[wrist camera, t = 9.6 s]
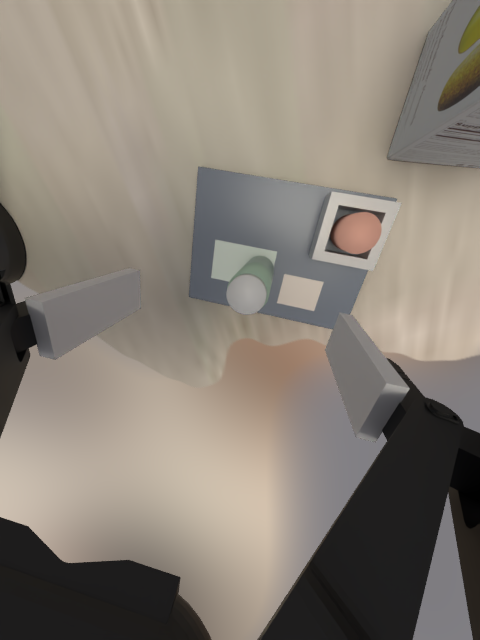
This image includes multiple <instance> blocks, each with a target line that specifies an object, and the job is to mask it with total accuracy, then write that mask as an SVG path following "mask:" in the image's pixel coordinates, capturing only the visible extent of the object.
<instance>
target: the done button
mask: <svg viewBox="0 0 480 640" xmlns="http://www.w3.org/2000/svg"><path fill="white" fill-rule="evenodd" d="M381 231H382V228H381V223H380V221H379V219H378V218H377V217H376V216H375V215H374V214H372V213H369V212H360V213H354V214H348V215H345V216H342V217H341V218H339V219H338V220H337V221H336V222H335V224H334V225H333V227H332V229H331V240H332V243H333V244H334V245H335V246H336V247H337V248H339V249H341V250H344V251H346V252H348V253H351V254H361V253H364V252H367V251H368V250H370V249H371V248H373V247H374V246H375V245H376V243H377V242H378V240H379V238H380V236H381Z"/></svg>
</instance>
